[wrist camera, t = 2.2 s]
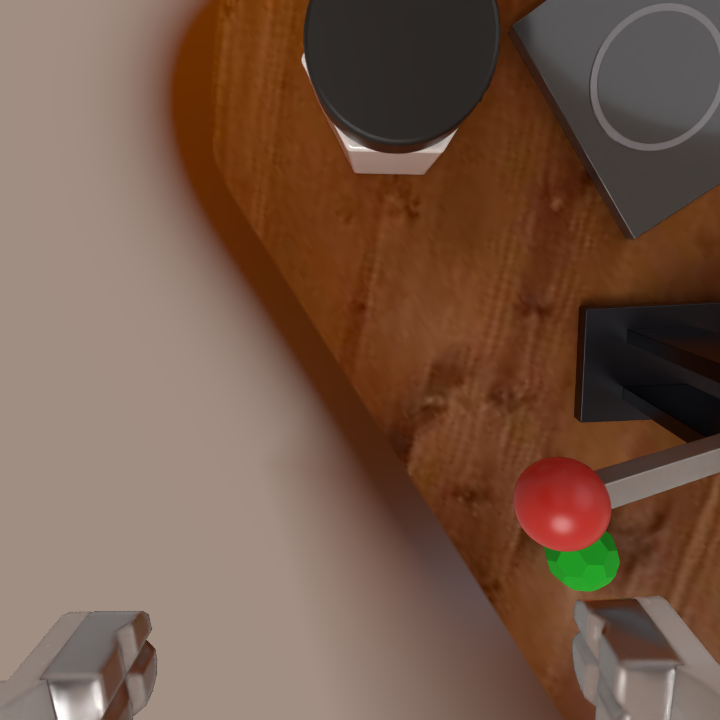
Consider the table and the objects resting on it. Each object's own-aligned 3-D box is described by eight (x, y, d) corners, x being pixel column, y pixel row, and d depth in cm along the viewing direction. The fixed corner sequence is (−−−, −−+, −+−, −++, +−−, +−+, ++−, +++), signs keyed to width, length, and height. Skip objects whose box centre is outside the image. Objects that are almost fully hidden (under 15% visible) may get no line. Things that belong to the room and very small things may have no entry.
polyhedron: (528, 515, 39) (549, 553, 34) (592, 497, 39) (622, 533, 34) (544, 570, 40) (566, 613, 35) (607, 553, 40) (638, 595, 35)
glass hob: (507, 32, 31) (513, 24, 30) (671, -92, 30) (685, -107, 28) (625, 239, 34) (635, 239, 33) (782, 136, 32) (800, 132, 31)
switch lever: (494, 533, 19) (557, 583, 16) (494, 454, 19) (561, 491, 16) (772, 442, 26) (853, 466, 23) (781, 380, 25) (866, 397, 22)
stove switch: (573, 416, 37) (700, 531, 23) (578, 306, 35) (720, 355, 21) (715, 411, 37) (935, 524, 22) (728, 299, 35) (978, 343, 20)
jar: (481, 141, 33) (540, 90, 21) (369, 205, 34) (367, 190, 22) (417, 2, 31) (443, -136, 19) (301, 75, 32) (260, -16, 21)
